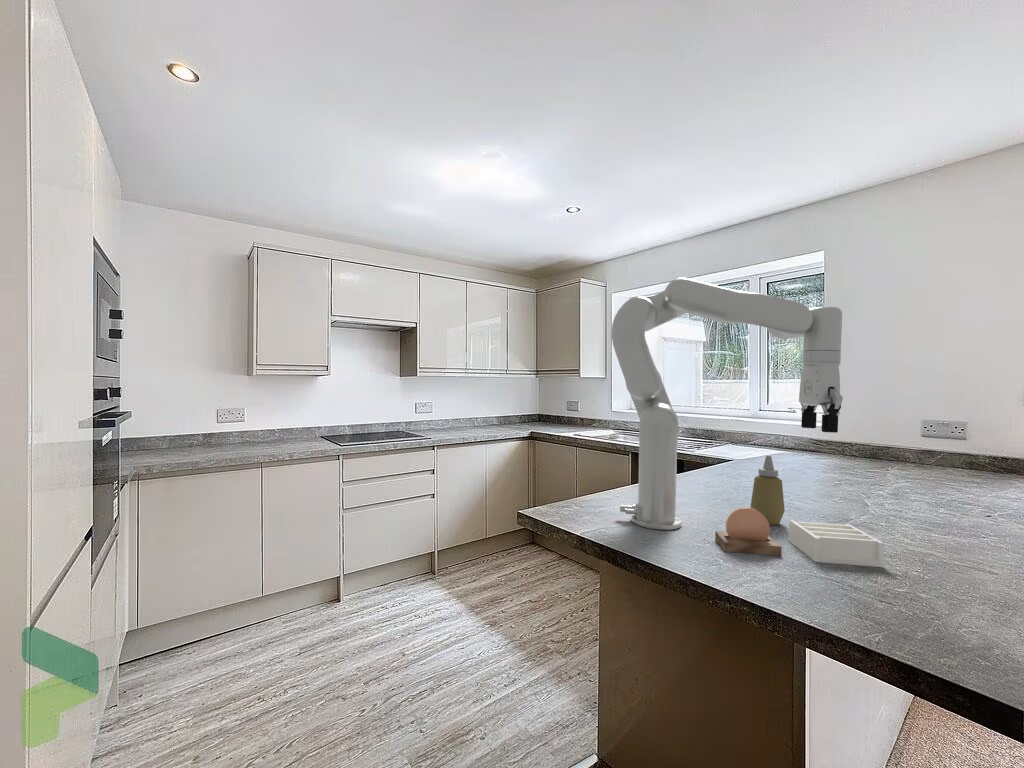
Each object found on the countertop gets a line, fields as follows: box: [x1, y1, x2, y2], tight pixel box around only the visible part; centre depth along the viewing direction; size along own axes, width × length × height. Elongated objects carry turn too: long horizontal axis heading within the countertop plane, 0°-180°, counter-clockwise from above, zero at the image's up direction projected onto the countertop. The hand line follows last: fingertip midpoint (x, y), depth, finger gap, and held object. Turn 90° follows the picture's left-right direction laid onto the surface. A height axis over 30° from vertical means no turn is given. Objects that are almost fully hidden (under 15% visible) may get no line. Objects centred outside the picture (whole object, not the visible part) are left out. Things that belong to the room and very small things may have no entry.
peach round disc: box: [725, 506, 771, 541], centre depth 105 cm, size 1×9×9 cm, turn 80°
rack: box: [788, 519, 885, 568], centre depth 103 cm, size 13×13×5 cm
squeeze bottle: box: [750, 455, 785, 526], centre depth 125 cm, size 8×8×18 cm
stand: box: [714, 530, 783, 557], centre depth 105 cm, size 12×8×2 cm
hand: (818, 429), depth 111 cm, fingers open, 9 cm apart
